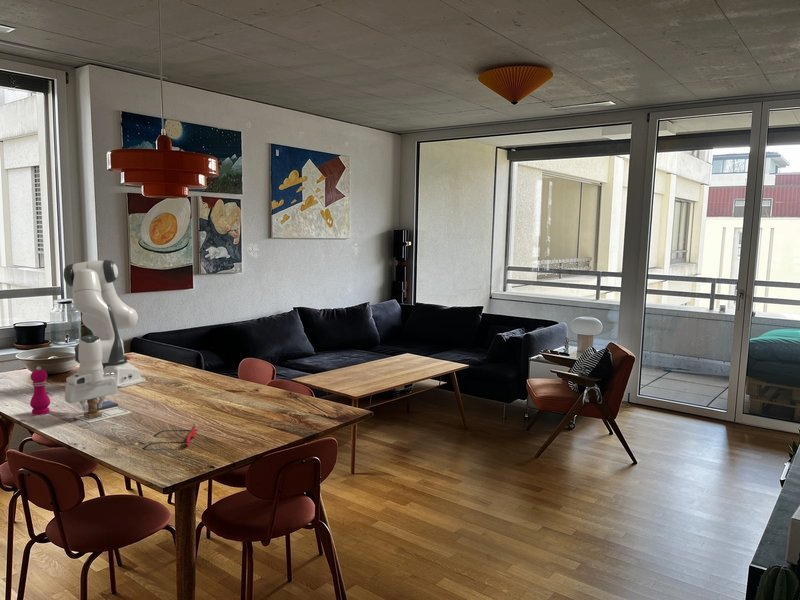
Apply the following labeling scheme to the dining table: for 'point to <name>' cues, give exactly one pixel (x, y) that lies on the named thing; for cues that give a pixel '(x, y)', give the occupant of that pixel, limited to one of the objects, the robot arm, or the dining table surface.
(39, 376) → the pepper mill
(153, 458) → the dining table surface
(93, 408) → the stamp
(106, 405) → the ink pad
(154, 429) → the dining table surface
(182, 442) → the glasses
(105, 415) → the print card
